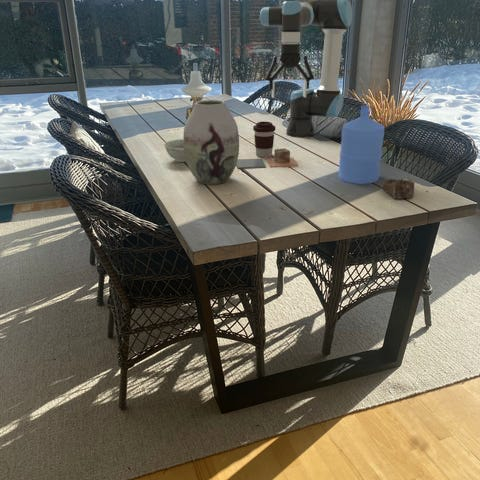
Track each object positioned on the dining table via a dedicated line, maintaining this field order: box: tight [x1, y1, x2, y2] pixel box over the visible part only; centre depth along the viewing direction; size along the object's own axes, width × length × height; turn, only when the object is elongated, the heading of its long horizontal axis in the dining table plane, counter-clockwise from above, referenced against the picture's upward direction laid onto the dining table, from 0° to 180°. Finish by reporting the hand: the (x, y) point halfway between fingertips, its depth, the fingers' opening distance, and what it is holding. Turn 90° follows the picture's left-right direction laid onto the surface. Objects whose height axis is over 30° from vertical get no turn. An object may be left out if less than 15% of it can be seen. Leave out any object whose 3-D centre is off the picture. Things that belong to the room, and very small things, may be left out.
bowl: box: [163, 138, 187, 163], centre depth 217 cm, size 16×16×8 cm
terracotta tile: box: [265, 156, 299, 168], centre depth 212 cm, size 12×12×1 cm
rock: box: [382, 178, 415, 200], centre depth 173 cm, size 13×8×6 cm, turn 3°
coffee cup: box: [252, 121, 276, 158], centre depth 221 cm, size 10×10×15 cm
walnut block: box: [273, 148, 291, 164], centre depth 211 cm, size 5×5×5 cm
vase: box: [182, 99, 240, 186], centre depth 186 cm, size 21×21×30 cm
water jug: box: [337, 105, 385, 185], centre depth 186 cm, size 16×16×28 cm
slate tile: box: [236, 157, 267, 170], centre depth 211 cm, size 12×12×1 cm
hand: (288, 97), depth 207 cm, fingers open, 13 cm apart
